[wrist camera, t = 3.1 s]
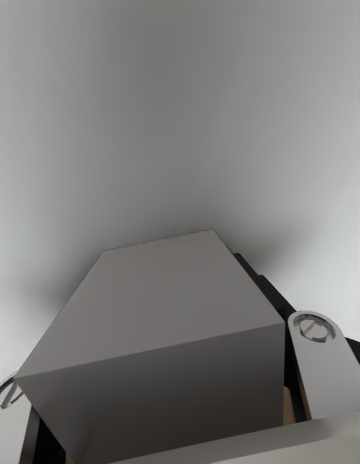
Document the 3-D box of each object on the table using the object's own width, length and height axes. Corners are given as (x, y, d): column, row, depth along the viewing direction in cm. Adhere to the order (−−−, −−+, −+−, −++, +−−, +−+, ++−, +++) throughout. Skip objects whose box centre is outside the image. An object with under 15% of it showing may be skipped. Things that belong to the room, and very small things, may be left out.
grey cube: (103, 250, 9) (13, 378, 4) (212, 228, 9) (285, 322, 4) (132, 332, 11) (101, 501, 6) (223, 313, 11) (282, 461, 6)
